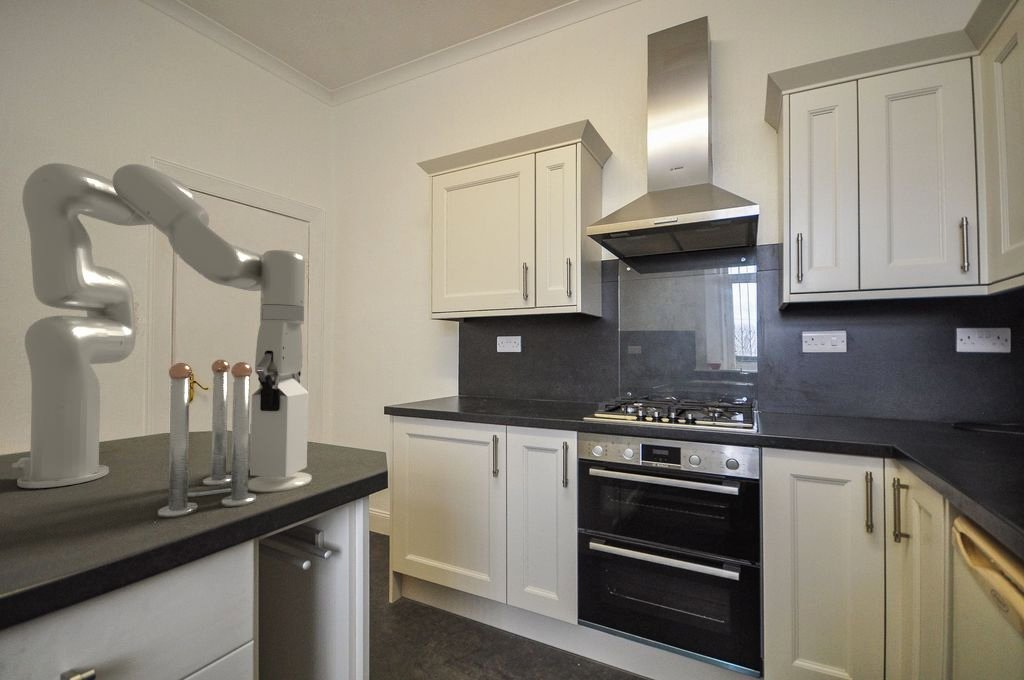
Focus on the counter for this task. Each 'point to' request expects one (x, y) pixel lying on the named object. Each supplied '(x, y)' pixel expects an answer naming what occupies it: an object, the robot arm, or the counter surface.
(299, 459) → the milk carton
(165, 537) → the counter surface
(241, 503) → the post
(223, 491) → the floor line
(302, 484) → the coaster
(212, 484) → the post
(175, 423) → the post
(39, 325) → the robot arm
